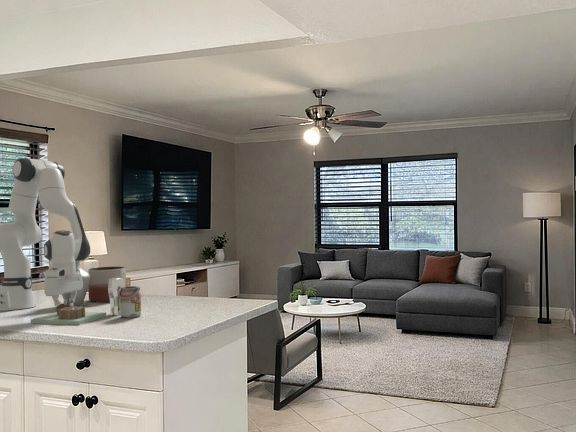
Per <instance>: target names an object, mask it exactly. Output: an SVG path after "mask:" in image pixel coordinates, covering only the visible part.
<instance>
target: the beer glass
mask: <svg viewBox="0 0 576 432" xmlns="http://www.w3.org/2000/svg"><path fill="white" fill-rule="evenodd" d="M121 287H125V278H110V279H108V294H109V299H110V302H109V304H110V311H109V315H110V316H121V311H120V298H119V297H118V293H119V291H120V289H121Z"/></svg>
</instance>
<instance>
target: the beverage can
mask: <svg viewBox="0 0 576 432" xmlns="http://www.w3.org/2000/svg"><path fill="white" fill-rule="evenodd" d="M140 290H141V287H140V286H135V285H131V286H130V285H129V286H126V287H121V289H120V291H119V293H118V297H119V298H120V311H121V315H120V317H121V318H123V319H134V318H135V319H136V318H139V317H141V315H142V300H141V297H142V296H141V292H140Z"/></svg>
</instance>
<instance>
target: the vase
mask: <svg viewBox="0 0 576 432" xmlns="http://www.w3.org/2000/svg"><path fill="white" fill-rule="evenodd" d="M80 262H81V261H75V263H76V268H78V269H79V270H80V273H81V275H82V281H83V288H82V290H78V291H77V294H76V297H75V302H69V298H71V292H69V293H65V294H61V297H62V299H63V302H64V301H65V300H66V302H67V303H73V306H76V307H83V303H84V301H85V298H86V295H87V292H88V290H89V289H88V286H89V282H90V275H89V274H88V272H87V271H85V270H84V269H83V268H82V266H81V264H80Z"/></svg>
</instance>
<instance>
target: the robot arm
mask: <svg viewBox="0 0 576 432" xmlns="http://www.w3.org/2000/svg"><path fill="white" fill-rule="evenodd" d="M65 172H66V170H65V168H64V166H63V164H61V163H59V162H57V161H56V162H55V161H50V160H46V159H41V158H40V159H38V158H28V157H21V158H17V159H16V160H15V161H14V163H13V166H12V175H13V177H14V179H15V180H14V182H13V186H12V190H11V194H10V199H9V203H8V204H9V205H8V209H9V211H10V212H11V213H12V214H13V217H14V222H10V223H1V224H0V254H1V257H2V262H3V278H1V279H0V283H1V284H0V311H1V312H3V311H4V312H5V311H14V310H24V309H29V308H33V307H36V303H35V299H34V295H33V290H32V285H33V276H32V272H31V271H32V269H31V259H30V258H29V257H28V256H27V255H26V254H25V253H24V251H23V249H22V248H23V247H29V246H30V247H31V246H32V245H34V244H37V243H39V242H40V241H41V239H42V235H43V234H42V229H41V227H40V226H39V225H38V223H37V219H36V209H37V208H36V207H37V204H38V203H37V202H38V201H39V204H40V205H41V206H40V207H42V208H43V209H44V210H46V211H47V212H49V213H51V214H55V215H59V216H61V217H63V218H65V219H67V221H68V222H69V224H70V225H69V226H70V227H71V230H72V231H70V230H56V231H54V232H53V234H52V238H50V239H47V241H46V242H44V244H43V256H44V258H45V259H46V260H48V261H49V262H52V266H50V268H48V269H47V270H45V271H44V272H43V277H45V278H44V282H43V283H44V285H43V288H44V289H43V290H44V291H43V292H44V295H45V296H46V297H51V298H52V301H53V304H54V307H57V306H60V305H61V304H62V303H61V301H60V300H59V299H60V298H59V296H60V295H62V294H65V293H69V292H71V298H69V302H75V297H76V294H77V291H78V290H82V288H83V281H82V275H81V273H80V270H79V269H78V268H76V263H75V261H80V262H81V261H82V262H83V261H85V260H86V259H87V258H88V257H89V256H90V254H91V245H90V242H89V239H88V238H87V234H86V231H85V229H84V226H83V222H82V219H81V216H80V212H79V210H78V207H77V206H76V204H75V203H74V202H72V201H71V200H70V198H69V197H68V195H67V192H66V186H65V181H64V179H65V176H66V173H65Z"/></svg>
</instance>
